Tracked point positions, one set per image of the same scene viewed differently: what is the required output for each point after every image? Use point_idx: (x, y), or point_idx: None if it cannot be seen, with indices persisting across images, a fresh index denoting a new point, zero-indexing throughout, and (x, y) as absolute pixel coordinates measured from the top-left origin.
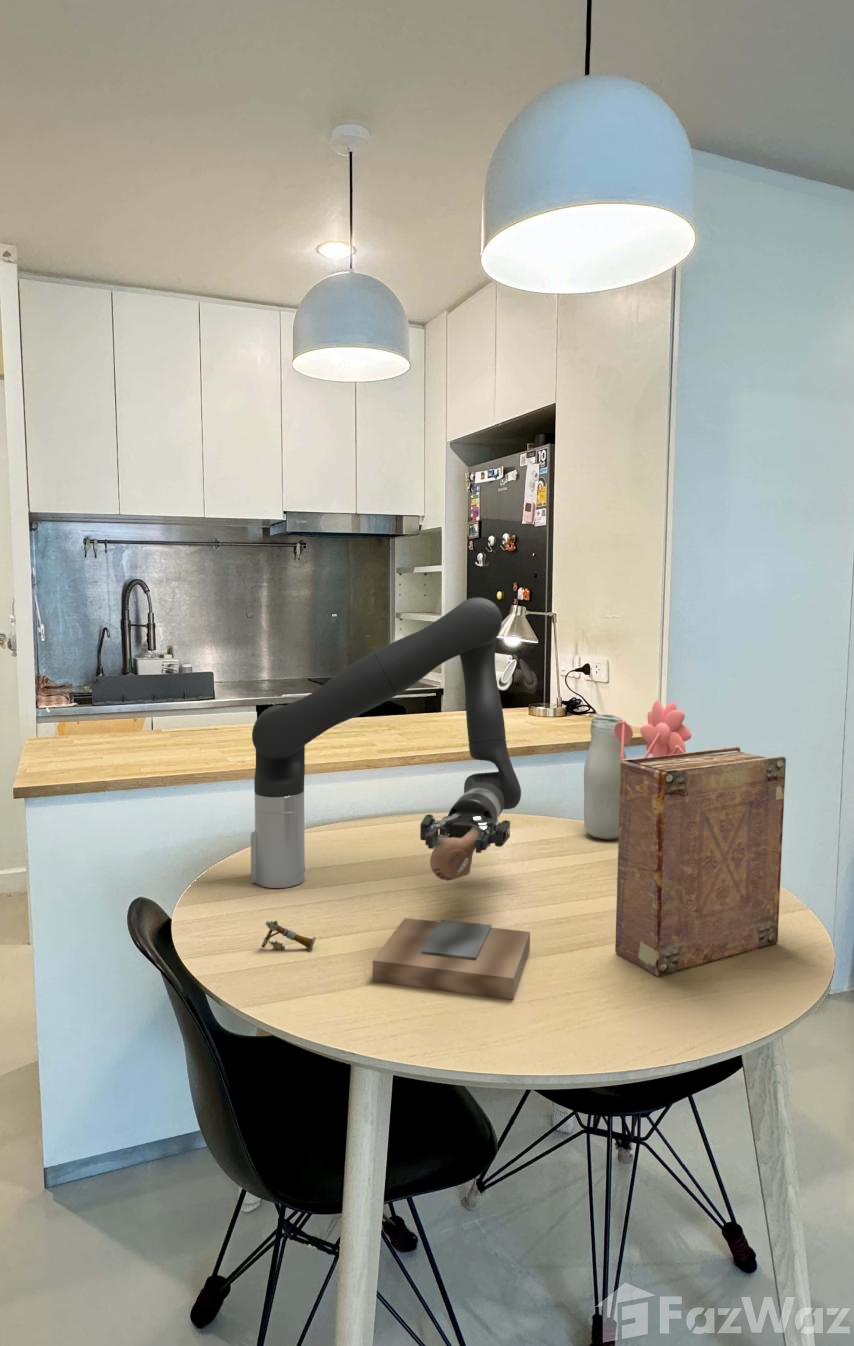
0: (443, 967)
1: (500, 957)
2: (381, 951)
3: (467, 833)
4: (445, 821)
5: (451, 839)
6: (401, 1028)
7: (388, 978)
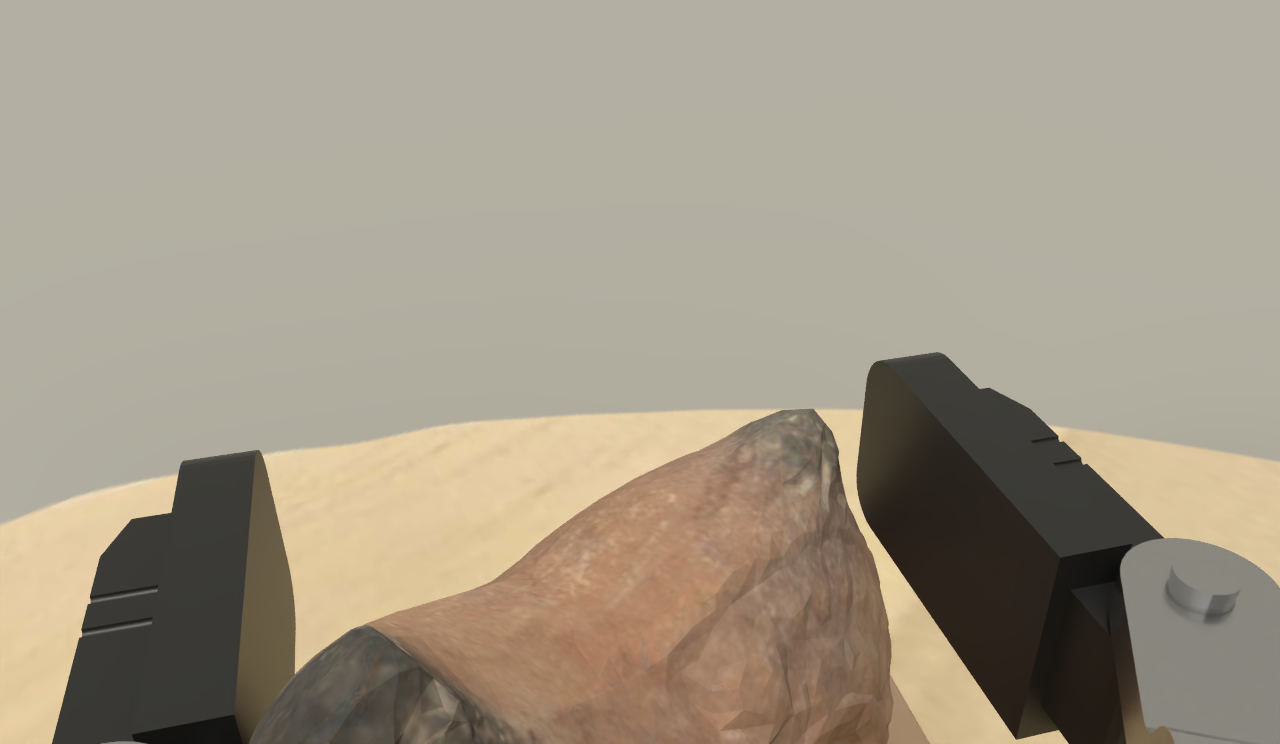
0: None
1: None
2: (914, 739)
3: (516, 696)
4: (1184, 730)
5: (665, 490)
6: (538, 524)
7: None
